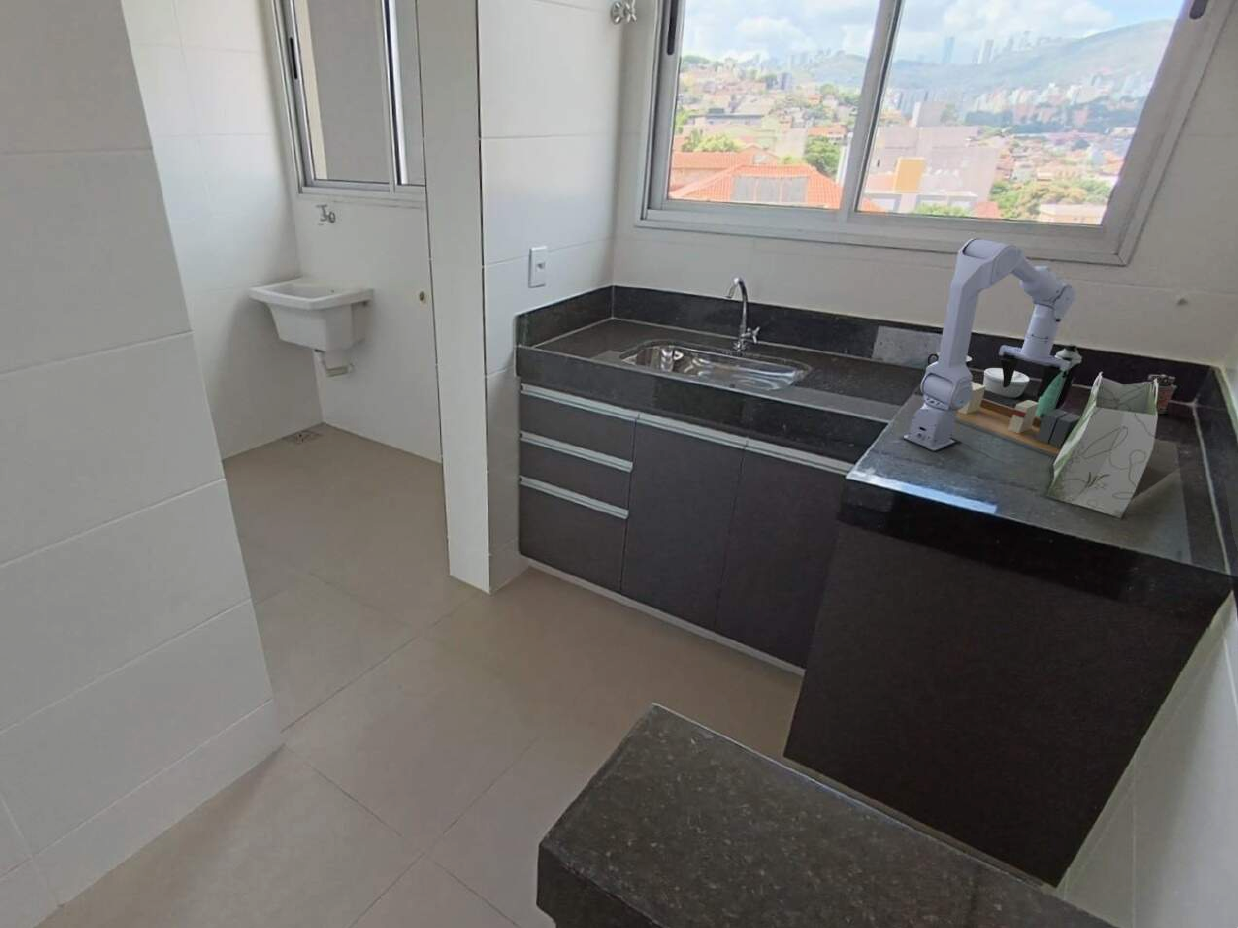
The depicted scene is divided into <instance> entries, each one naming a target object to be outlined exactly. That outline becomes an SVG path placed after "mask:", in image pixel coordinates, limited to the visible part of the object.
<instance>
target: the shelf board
mask: <svg viewBox="0 0 1238 928" xmlns="http://www.w3.org/2000/svg"><path fill="white" fill-rule="evenodd" d="M1014 410H1015V407H1010V406H1008V405H1005V404H1002V403H999V402H996V401H992V400H990V399H986V398H984V397H983V398H982V401H981V404H980V407H979V410H978V411H975V412H972V413H969V414H967V415H966V414H963V413H960V412H958V413H957V416H956V419H959V420H962V421H964V422H967V423H970V424H972V425H975V426H978V427H981V428H984V429H986V430H989V431H992V432H994V433H997V434H1000V435H1003V436H1005V437H1007V438H1010V439H1013V440H1017V441H1018V442H1022V443H1024V444H1027V445H1030V446H1033V447H1034V448H1038V449H1040V450H1044V451H1046V452H1049V453H1052V454H1054V455H1057V456H1058V455H1059V453H1060V451H1061V449H1062V448H1058V447H1055V446H1052V445H1049V443H1048V444H1046V443H1044V442H1041V441H1038V440H1036V437H1037V435H1038V432H1039V429H1040V426H1041V424H1042V421H1043V418H1041V417H1038V416H1035V418H1034V420H1033V423H1032V426H1031V428H1030V429H1028V430H1026V431H1023V432H1021V433H1019V434H1018V433H1016V432H1013V431H1010V430H1008V427H1009V425H1010V422H1011V419H1012V416H1013V412H1014Z"/></svg>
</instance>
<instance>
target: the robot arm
mask: <svg viewBox="0 0 1238 928" xmlns="http://www.w3.org/2000/svg"><path fill="white" fill-rule="evenodd" d="M1051 270H1052V268H1050V267H1049V266H1048V265H1047V266H1046V265H1036V266H1034V265H1033V263H1032V262H1031V261H1030V260H1029V259H1028V258H1027V257H1026V256H1025V255H1024V254H1023V250H1022V249H1020V248H1018V246H1016V245H1015V244H1006V243H1001V242H995V241H990V240H985V239H983V238H980V237H973V238H971V239H969V240H968V241H967V242H966V243H964V245H963V246H962V247H961V248H960V249H959V250H958V251H957V256H956V263H955V268H954V272H953V273H954V274H953V277H952V280H951V283H950V289H949V295H948V299H947V307H946V311H945V312H946V313H945V317H944V323H943V331H942V336H941V343H940V348H939V352H940V354H939V360H938V361H937V362H936V361H935V362H932V363H930V364H931V365H928V366H926V369H925V374H924V376H923V378H922V380H921V382H920V387H919V388H920V392H921V394H922V400H924V402H923V405H922V406H921V408H919V409H918V410H916V411H915V412H914V414H913V416H912V419H911V423H910V427H909V430H908V434H906V435H904V436H903V439H904V440H907V441H910V442H912V443H915V444H917V445H918V446H919V445H920V446H922V447H924V448H927V449H929V450H932V451H938V450H940V449H943V448H945V447H948V446H949V445H952V444H953V445H954V444H955V443H957V442H958V439H955V438H953V437H951V436H952V433H953V429H954V426H955V423H956V419H957V418H956V416H957V413H958V410H959V409H962V407H964V406H965V405H966V404H967V403H968V402H969V401H970V399H971V397H972V394H973V386H972V382H973V377H974V376H973V374H972V372H971V371H970V369H969V367H967V366H966V359H967V356H968V354H969V353H968V352H969V348H970V342H971V337H972V332H973V326H974V321H975V316H976V311H977V306H978V301H979V295H980V293H981V292H982V291H983V290H986V289H990V288H991V287H993V286H995V285H996V284H997V283H999V282H1000V281H1003V280H1004V279H1005V278H1006V277H1008V276H1009V275H1010V274H1011V275H1012V276H1014V277H1016V279H1018V280H1019V287H1020V288H1021V290H1022V291H1024V292H1025V293H1027V295H1029V296H1030V297H1031V301H1032V304H1033V305H1035V307H1034V310H1033V312H1032V316H1031V320H1030V323H1029V326H1028V328H1027V332H1026V335H1025V338H1024V342H1023V344H1022V348H1021V347H1015V346H1008V345H1001V346H1000V349H999V353H998V355H999V356H1002V357H1001V358H1000V364H1001V369H1003V376H1004V381H1003V387H1005V388H1006V387H1008V386H1009V385H1010V383H1011V380H1012V376H1013V372H1014V371H1016V367H1017V365H1018V363H1019V360H1023V361H1026V362H1030V363H1033V364H1038V365H1042V366H1047V367H1045V368H1044V370H1043V373H1042V379H1041V383H1040V385H1039V388H1038V390H1037V393H1036V397H1037V398H1040V397H1041V396H1043V394H1044V393H1045V391H1046V389H1047V388H1048V386H1049V385H1050V384H1051V382H1052V381H1053V380H1054V379H1055V378H1056V377H1057V376H1058V375H1059V374H1060V373H1061V372H1062V371H1066V370H1068V367H1069V365H1070V361H1067V360H1063V359H1060V358H1057V357H1055V355H1052V354H1051V351H1052V349H1053V346H1054V343H1055V341H1056V340H1055V339H1056V337H1057V334H1058V331H1059V328H1060V325H1061V322H1062V319H1064V318H1065V317H1066V316H1067V314H1068V311H1069V309H1070V308H1071V307H1072V306H1073V304H1074V303H1075V300H1076V290H1075V289H1074V287H1073V286H1072V285H1071V284H1067V283H1063V282H1062V281H1061V277H1059V276H1058V275H1054V274H1053V273H1052V272H1051Z"/></svg>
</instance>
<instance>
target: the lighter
mask: <svg viewBox="0 0 1238 928" xmlns="http://www.w3.org/2000/svg"><path fill="white" fill-rule="evenodd" d="M1155 379H1157V383H1158V395H1157V403H1156V408H1157V414H1158V415H1160V414H1162V415H1163V414H1166V411H1167V407H1168V404H1169V403H1170V400H1171V398H1172V396H1173V394H1174V392H1175V391H1176V389H1177V385H1175V384H1173V383H1174V381H1175V379H1176V378H1175V377H1174V376H1168V375H1166V374H1149V375H1148V377H1147V380H1148V381H1142V383H1151V385H1152V390H1153V386H1154V380H1155ZM1154 397H1156V386H1155V389H1154Z"/></svg>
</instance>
